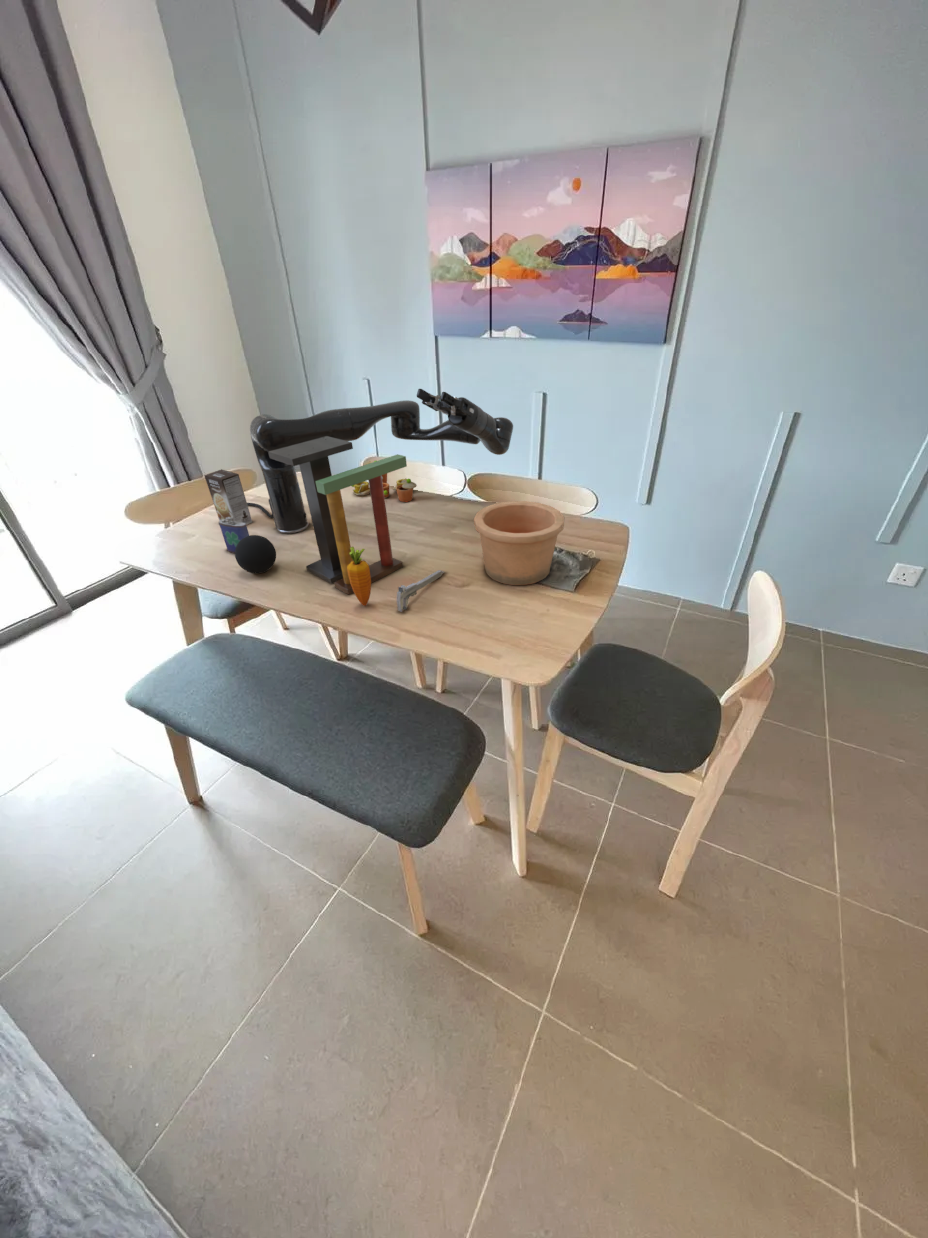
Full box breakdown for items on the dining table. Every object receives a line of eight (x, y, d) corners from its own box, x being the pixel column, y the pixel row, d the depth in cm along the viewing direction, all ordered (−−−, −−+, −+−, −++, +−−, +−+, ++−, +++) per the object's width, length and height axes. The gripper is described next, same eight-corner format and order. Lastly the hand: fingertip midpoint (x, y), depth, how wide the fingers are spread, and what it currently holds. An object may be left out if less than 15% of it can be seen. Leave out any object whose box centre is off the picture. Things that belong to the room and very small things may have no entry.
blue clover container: (256, 551, 142) (245, 516, 136) (249, 556, 139) (238, 520, 133) (231, 547, 145) (220, 513, 139) (224, 551, 142) (212, 517, 136)
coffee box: (219, 523, 159) (202, 474, 150) (236, 516, 164) (220, 468, 155) (237, 529, 155) (221, 479, 146) (253, 522, 160) (239, 473, 151)
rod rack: (389, 560, 134) (376, 469, 120) (403, 566, 131) (391, 473, 117) (335, 587, 123) (314, 490, 109) (348, 594, 120) (328, 496, 106)
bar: (398, 464, 123) (397, 454, 121) (406, 466, 121) (405, 456, 120) (317, 492, 108) (315, 480, 107) (325, 495, 107) (323, 483, 105)
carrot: (355, 600, 118) (344, 543, 109) (376, 599, 118) (366, 542, 110) (353, 612, 114) (341, 554, 105) (374, 610, 114) (365, 552, 105)
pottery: (503, 600, 115) (504, 544, 107) (460, 562, 132) (458, 511, 124) (577, 576, 123) (583, 523, 115) (528, 543, 140) (530, 494, 131)
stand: (348, 552, 139) (325, 435, 121) (372, 563, 133) (353, 442, 115) (298, 574, 129) (266, 451, 111) (323, 587, 123) (293, 459, 105)
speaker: (236, 570, 133) (224, 536, 127) (272, 558, 138) (263, 525, 132) (248, 584, 126) (236, 549, 120) (285, 571, 131) (276, 537, 125)
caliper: (402, 614, 112) (399, 590, 109) (398, 612, 113) (394, 589, 109) (444, 573, 127) (443, 551, 124) (441, 572, 128) (439, 550, 124)
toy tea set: (347, 495, 177) (342, 468, 171) (372, 481, 188) (368, 456, 182) (408, 505, 166) (405, 477, 161) (431, 490, 178) (429, 463, 172)
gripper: (453, 400, 140) (414, 376, 127) (492, 406, 132) (455, 380, 119) (445, 427, 141) (406, 405, 128) (483, 434, 133) (446, 412, 120)
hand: (430, 393), depth 124 cm, fingers open, 8 cm apart
